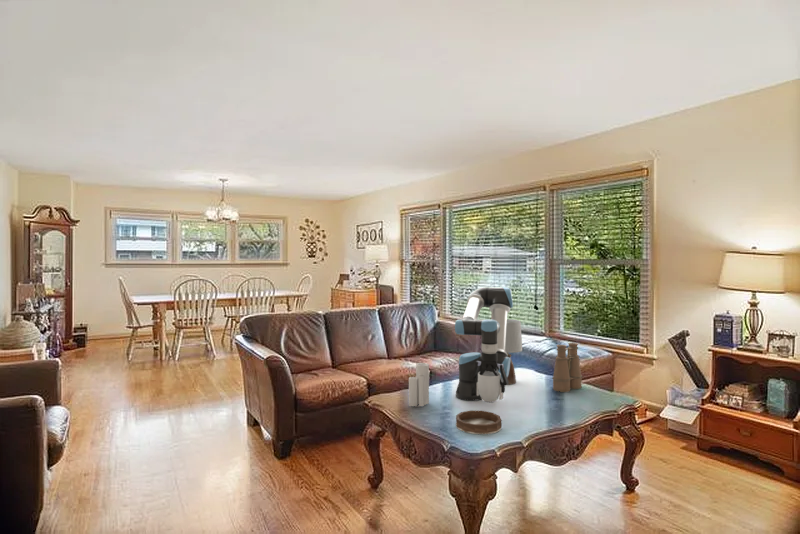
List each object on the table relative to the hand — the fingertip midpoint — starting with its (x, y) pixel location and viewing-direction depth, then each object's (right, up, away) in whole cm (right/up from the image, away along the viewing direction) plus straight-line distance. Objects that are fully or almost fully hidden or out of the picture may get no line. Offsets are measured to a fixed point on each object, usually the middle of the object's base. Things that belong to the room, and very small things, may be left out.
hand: (489, 397), depth 228 cm
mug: (0, -2, +1) cm, 2 cm away
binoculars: (+52, -7, +42) cm, 67 cm away
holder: (-9, -8, -19) cm, 22 cm away
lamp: (+21, -7, +55) cm, 59 cm away
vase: (-33, -7, +13) cm, 36 cm away
